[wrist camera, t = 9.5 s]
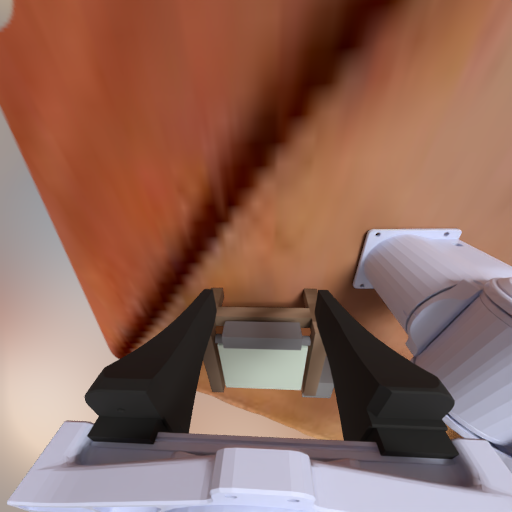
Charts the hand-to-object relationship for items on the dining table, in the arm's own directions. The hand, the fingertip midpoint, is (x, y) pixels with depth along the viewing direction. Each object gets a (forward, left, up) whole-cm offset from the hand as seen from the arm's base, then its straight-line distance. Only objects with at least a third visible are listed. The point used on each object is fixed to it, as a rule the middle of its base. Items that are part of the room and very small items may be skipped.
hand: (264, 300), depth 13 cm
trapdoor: (0, +13, -4) cm, 14 cm away
